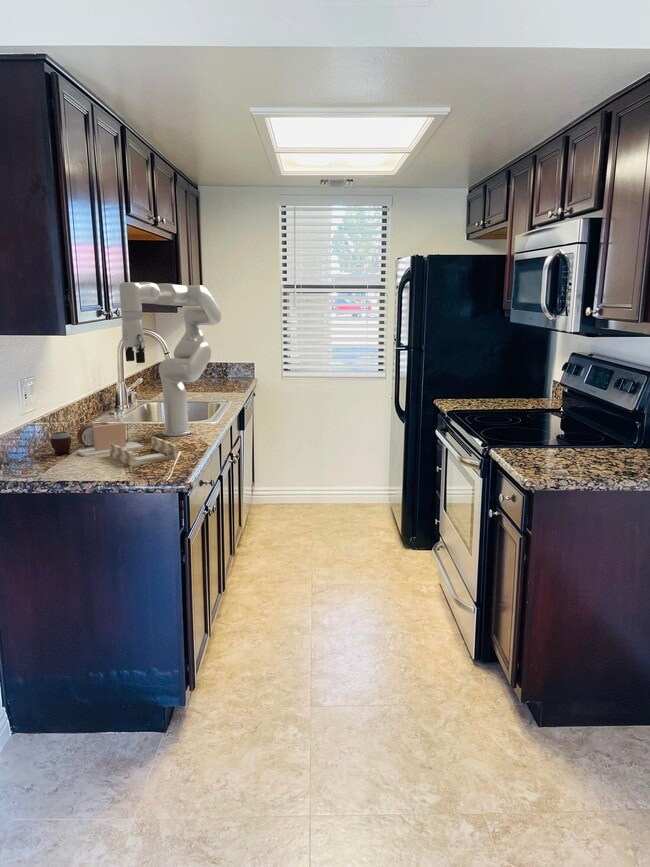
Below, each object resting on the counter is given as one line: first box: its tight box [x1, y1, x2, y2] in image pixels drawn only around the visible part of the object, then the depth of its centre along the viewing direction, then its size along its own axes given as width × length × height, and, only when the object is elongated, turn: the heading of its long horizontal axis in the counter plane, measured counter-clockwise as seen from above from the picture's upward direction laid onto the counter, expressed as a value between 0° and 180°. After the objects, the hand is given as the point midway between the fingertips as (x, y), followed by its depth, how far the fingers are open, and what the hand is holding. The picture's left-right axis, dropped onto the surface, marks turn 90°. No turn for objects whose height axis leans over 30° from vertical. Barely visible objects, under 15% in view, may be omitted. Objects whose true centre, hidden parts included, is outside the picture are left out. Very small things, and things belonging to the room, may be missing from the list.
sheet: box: [93, 422, 127, 451], centre depth 231 cm, size 2×11×9 cm, turn 129°
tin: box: [76, 421, 109, 447], centre depth 242 cm, size 15×3×8 cm, turn 141°
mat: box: [76, 441, 144, 458], centre depth 233 cm, size 9×22×1 cm, turn 129°
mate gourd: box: [40, 415, 72, 457], centre depth 226 cm, size 8×8×15 cm
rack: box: [109, 436, 178, 467], centre depth 221 cm, size 19×17×5 cm
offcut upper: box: [134, 452, 166, 462], centre depth 217 cm, size 4×10×1 cm, turn 130°
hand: (135, 361), depth 235 cm, fingers open, 9 cm apart
